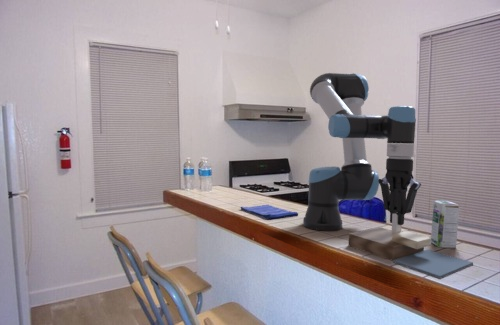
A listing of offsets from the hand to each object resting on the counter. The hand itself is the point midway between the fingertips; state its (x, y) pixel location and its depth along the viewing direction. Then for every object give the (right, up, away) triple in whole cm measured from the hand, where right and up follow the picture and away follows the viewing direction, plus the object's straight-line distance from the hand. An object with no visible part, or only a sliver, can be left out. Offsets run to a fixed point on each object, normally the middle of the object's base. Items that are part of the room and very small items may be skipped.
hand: (396, 234), depth 104 cm
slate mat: (+6, -6, -9) cm, 13 cm away
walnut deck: (-2, -5, +3) cm, 7 cm away
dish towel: (-36, -2, +52) cm, 64 cm away
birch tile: (+3, -2, -4) cm, 5 cm away
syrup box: (+19, -6, +8) cm, 21 cm away
